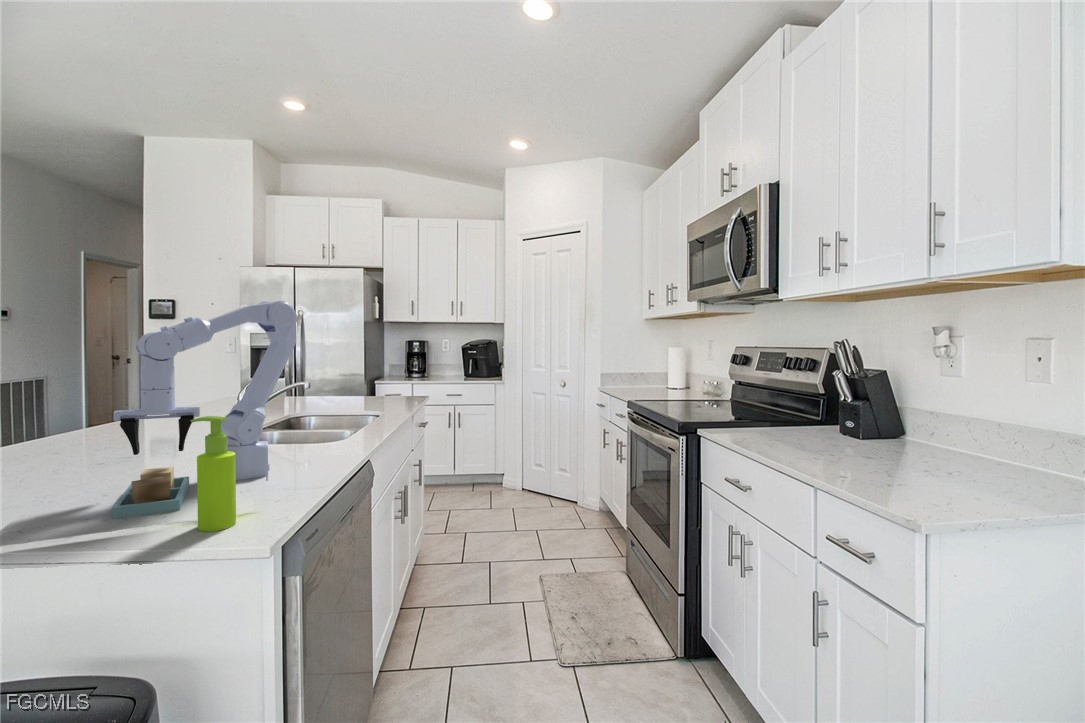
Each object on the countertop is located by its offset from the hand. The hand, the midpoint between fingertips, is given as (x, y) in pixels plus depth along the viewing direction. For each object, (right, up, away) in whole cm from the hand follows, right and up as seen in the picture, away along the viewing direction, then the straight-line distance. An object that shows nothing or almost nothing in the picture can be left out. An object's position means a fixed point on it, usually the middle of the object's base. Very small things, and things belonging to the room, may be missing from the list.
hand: (159, 452), depth 108 cm
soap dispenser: (+22, -11, -16) cm, 29 cm away
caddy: (+3, -10, -6) cm, 12 cm away
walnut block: (+5, -9, -9) cm, 14 cm away
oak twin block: (+1, -9, -2) cm, 9 cm away
